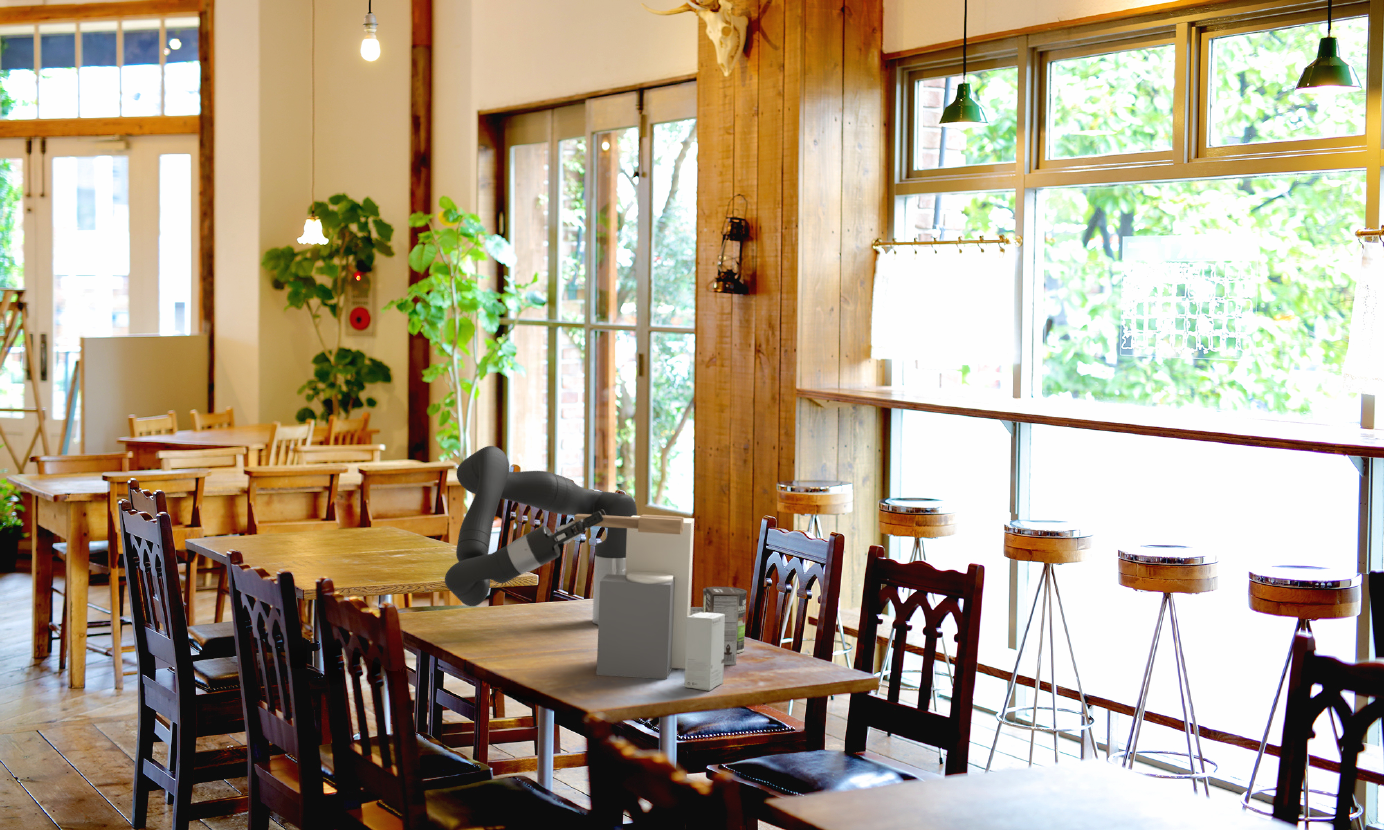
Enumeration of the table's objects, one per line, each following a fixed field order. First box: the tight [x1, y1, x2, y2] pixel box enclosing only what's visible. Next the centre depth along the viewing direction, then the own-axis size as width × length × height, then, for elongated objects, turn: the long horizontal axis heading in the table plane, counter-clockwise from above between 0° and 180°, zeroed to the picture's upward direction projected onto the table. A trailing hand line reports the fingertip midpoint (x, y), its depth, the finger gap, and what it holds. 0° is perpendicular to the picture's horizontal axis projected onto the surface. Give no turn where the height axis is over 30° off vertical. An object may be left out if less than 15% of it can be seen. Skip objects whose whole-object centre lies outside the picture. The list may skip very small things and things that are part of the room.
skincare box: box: [684, 612, 725, 692], centre depth 271 cm, size 8×6×15 cm
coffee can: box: [702, 587, 748, 654], centre depth 307 cm, size 10×10×14 cm
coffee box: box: [705, 586, 739, 666], centre depth 295 cm, size 9×6×16 cm
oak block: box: [573, 514, 685, 534], centre depth 280 cm, size 7×23×3 cm, turn 85°
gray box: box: [596, 572, 675, 680], centre depth 281 cm, size 10×15×21 cm, turn 86°
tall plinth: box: [625, 515, 695, 670], centre depth 290 cm, size 9×14×32 cm, turn 86°
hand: (603, 514), depth 280 cm, fingers closed on oak block, 4 cm apart
